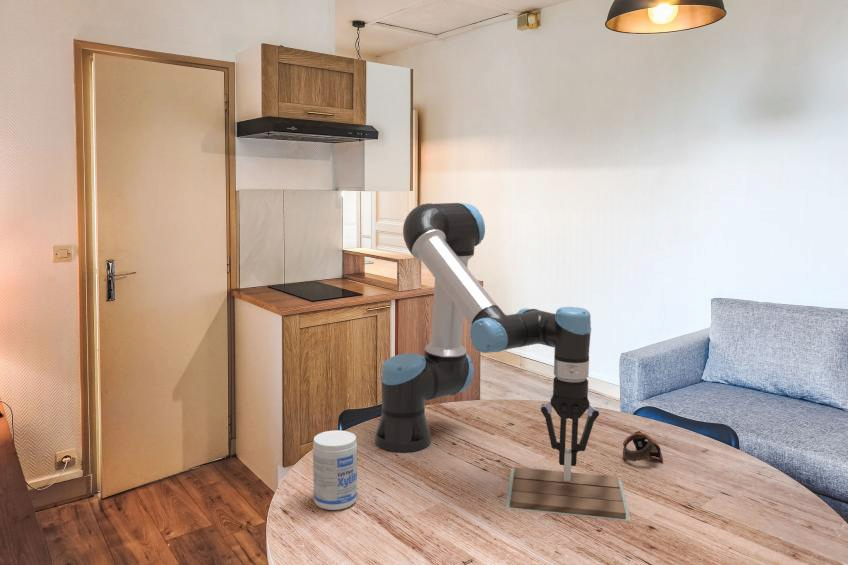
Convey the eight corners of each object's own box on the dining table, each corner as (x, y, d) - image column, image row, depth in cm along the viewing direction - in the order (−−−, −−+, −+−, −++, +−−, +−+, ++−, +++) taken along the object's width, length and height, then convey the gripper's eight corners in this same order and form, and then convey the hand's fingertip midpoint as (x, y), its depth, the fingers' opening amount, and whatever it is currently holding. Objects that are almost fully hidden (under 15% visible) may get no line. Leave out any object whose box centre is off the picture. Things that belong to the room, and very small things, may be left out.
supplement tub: (346, 515, 136) (345, 448, 134) (305, 508, 139) (304, 443, 137) (364, 494, 145) (363, 432, 143) (325, 488, 148) (324, 427, 146)
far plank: (513, 482, 151) (513, 477, 150) (514, 471, 156) (514, 467, 156) (619, 492, 146) (620, 487, 146) (617, 481, 152) (617, 476, 152)
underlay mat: (505, 509, 139) (505, 507, 139) (510, 470, 158) (510, 469, 158) (630, 522, 134) (630, 520, 134) (620, 481, 153) (621, 479, 153)
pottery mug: (670, 471, 160) (659, 446, 157) (634, 484, 162) (622, 460, 159) (656, 441, 171) (646, 417, 168) (622, 453, 173) (611, 430, 170)
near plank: (511, 495, 144) (511, 490, 144) (513, 483, 150) (513, 478, 150) (622, 506, 140) (623, 501, 139) (620, 493, 145) (620, 488, 145)
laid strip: (510, 506, 139) (510, 501, 139) (511, 495, 144) (511, 490, 144) (625, 518, 134) (625, 513, 134) (623, 507, 139) (623, 501, 139)
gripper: (540, 380, 140) (537, 483, 143) (602, 384, 137) (597, 488, 141) (541, 371, 147) (538, 468, 151) (600, 374, 145) (595, 473, 148)
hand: (566, 478), depth 146 cm, fingers closed
